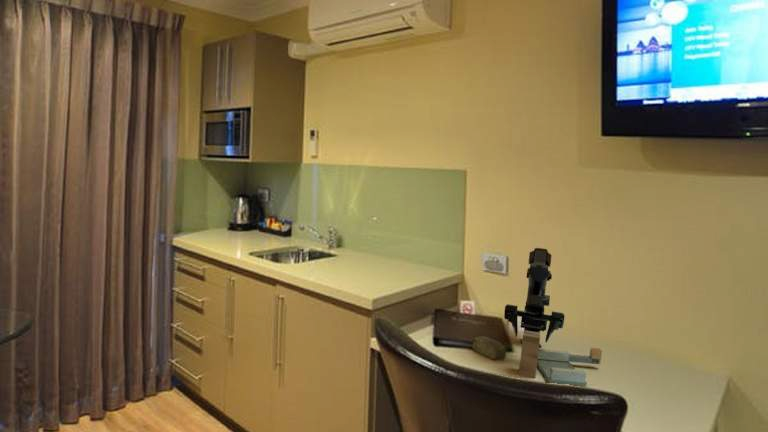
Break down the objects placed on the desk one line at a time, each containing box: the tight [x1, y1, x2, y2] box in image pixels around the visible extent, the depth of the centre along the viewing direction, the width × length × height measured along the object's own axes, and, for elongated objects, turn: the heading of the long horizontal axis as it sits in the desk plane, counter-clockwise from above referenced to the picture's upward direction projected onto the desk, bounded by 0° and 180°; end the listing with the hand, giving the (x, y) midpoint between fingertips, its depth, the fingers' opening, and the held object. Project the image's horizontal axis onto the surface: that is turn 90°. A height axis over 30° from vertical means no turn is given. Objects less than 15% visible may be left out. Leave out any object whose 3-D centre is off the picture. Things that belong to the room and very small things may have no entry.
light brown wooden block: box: [538, 347, 603, 365], centre depth 164 cm, size 2×20×5 cm, turn 88°
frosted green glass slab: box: [537, 359, 587, 387], centre depth 158 cm, size 20×11×4 cm, turn 178°
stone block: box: [471, 335, 507, 361], centre depth 169 cm, size 6×12×5 cm, turn 35°
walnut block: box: [518, 329, 541, 379], centre depth 155 cm, size 5×5×13 cm
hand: (531, 339), depth 157 cm, fingers open, 9 cm apart
